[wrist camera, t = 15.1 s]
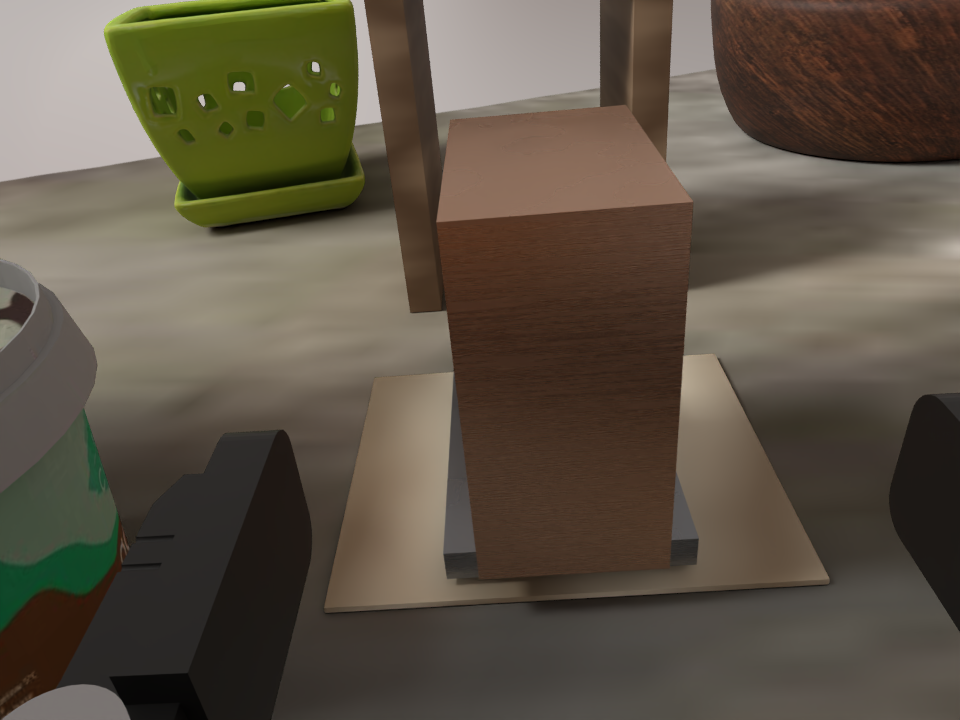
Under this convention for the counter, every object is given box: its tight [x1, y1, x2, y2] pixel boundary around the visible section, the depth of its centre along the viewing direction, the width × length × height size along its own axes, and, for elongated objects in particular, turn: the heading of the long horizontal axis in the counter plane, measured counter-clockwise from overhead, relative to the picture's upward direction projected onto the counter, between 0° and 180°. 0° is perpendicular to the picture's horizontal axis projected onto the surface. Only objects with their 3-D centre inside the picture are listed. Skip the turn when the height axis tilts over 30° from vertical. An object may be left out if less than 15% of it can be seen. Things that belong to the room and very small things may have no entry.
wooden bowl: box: [711, 0, 960, 162], centre depth 54 cm, size 25×25×10 cm
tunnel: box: [364, 0, 673, 313], centre depth 37 cm, size 12×10×16 cm
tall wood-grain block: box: [436, 105, 699, 579], centre depth 24 cm, size 7×15×11 cm, turn 0°
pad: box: [324, 354, 830, 613], centre depth 26 cm, size 14×12×1 cm
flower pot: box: [104, 0, 365, 227], centre depth 50 cm, size 14×14×13 cm
